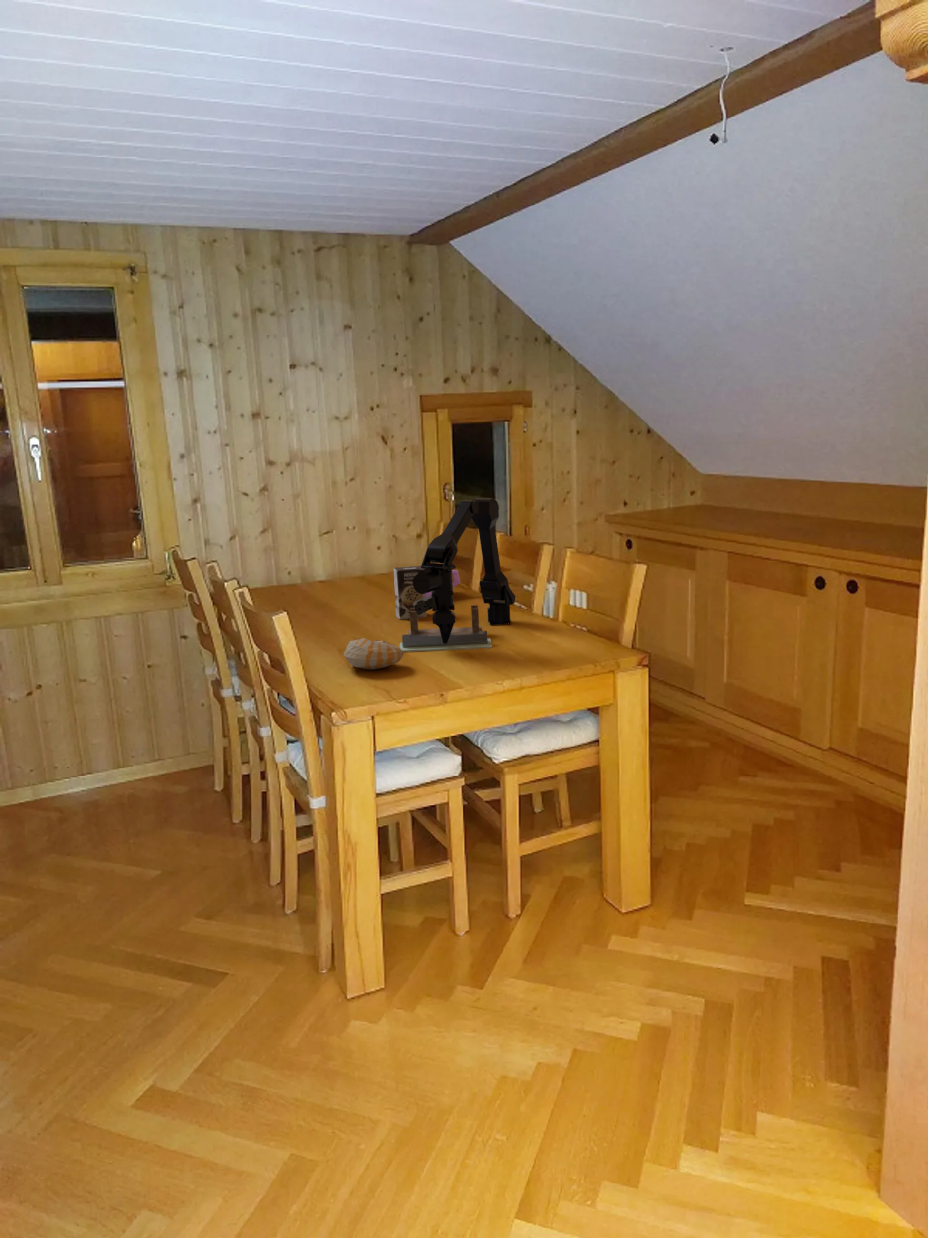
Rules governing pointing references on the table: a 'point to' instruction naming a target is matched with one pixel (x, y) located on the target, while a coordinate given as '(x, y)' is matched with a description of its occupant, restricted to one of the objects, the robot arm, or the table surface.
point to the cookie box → (406, 591)
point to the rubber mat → (446, 647)
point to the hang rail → (436, 640)
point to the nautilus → (372, 653)
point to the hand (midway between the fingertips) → (445, 640)
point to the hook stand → (426, 631)
